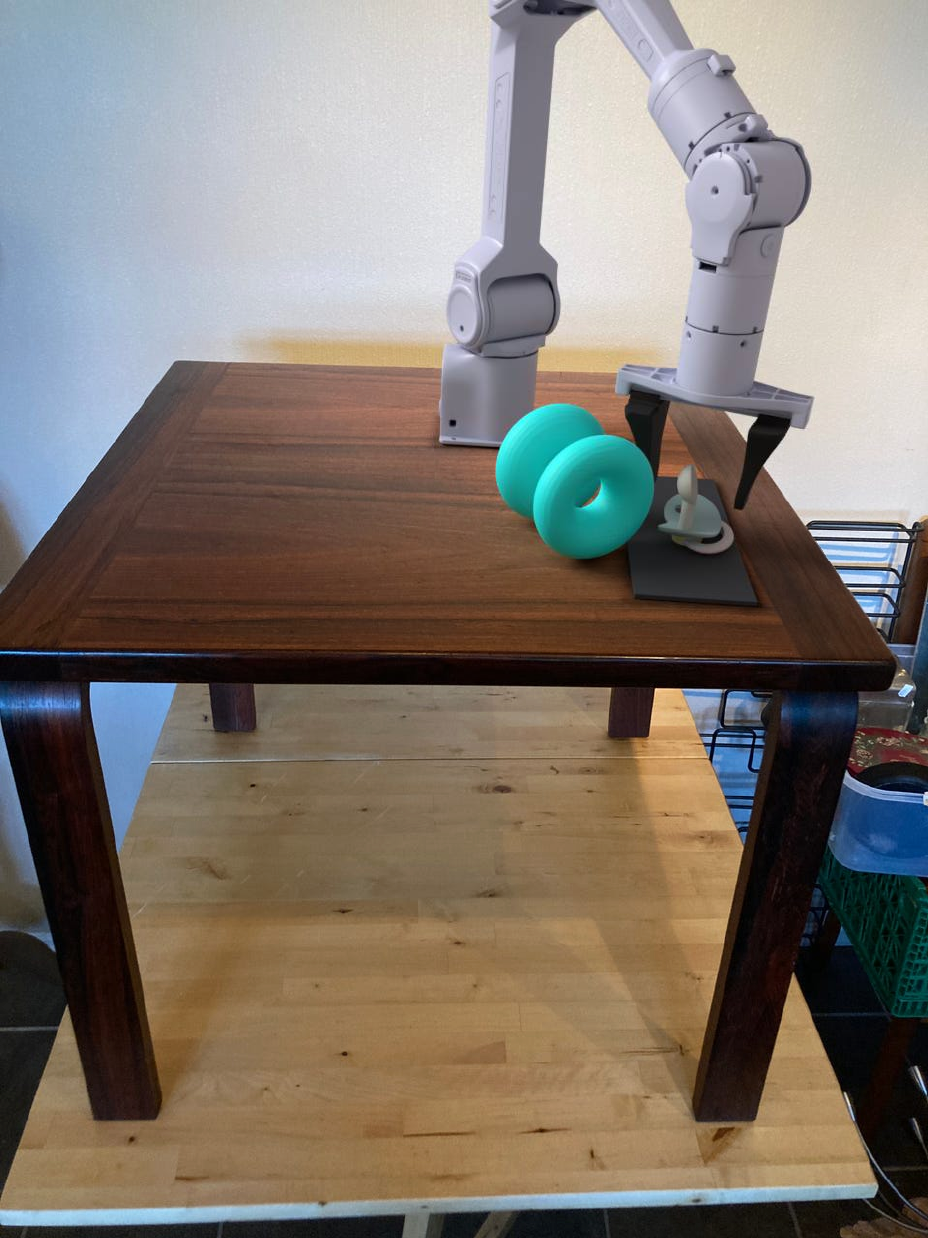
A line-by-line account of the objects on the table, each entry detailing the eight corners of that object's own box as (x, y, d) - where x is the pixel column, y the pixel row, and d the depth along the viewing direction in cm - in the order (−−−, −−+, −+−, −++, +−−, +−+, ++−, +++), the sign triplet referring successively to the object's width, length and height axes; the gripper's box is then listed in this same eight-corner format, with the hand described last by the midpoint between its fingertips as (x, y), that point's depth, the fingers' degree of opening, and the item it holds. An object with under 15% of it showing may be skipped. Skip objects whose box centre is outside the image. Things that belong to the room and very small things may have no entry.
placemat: (634, 598, 72) (634, 593, 72) (615, 477, 91) (616, 473, 90) (756, 606, 72) (757, 602, 71) (712, 483, 90) (713, 479, 90)
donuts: (593, 500, 85) (601, 390, 80) (654, 551, 77) (667, 433, 72) (489, 521, 82) (490, 408, 77) (541, 576, 74) (546, 455, 69)
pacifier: (735, 527, 82) (664, 513, 83) (752, 458, 79) (678, 445, 80) (728, 567, 76) (651, 551, 77) (745, 494, 73) (665, 479, 74)
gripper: (834, 326, 71) (794, 495, 79) (644, 297, 76) (622, 458, 84) (820, 350, 66) (778, 530, 73) (615, 318, 71) (595, 488, 78)
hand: (693, 494), depth 78 cm, fingers open, 7 cm apart
